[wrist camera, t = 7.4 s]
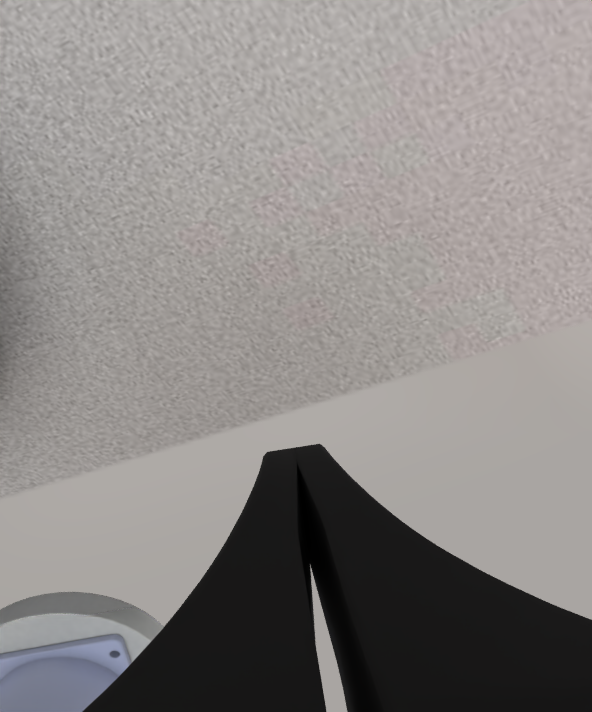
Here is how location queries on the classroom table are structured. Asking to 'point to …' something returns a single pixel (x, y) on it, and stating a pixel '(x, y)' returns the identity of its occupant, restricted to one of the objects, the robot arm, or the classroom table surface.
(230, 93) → the classroom table surface
